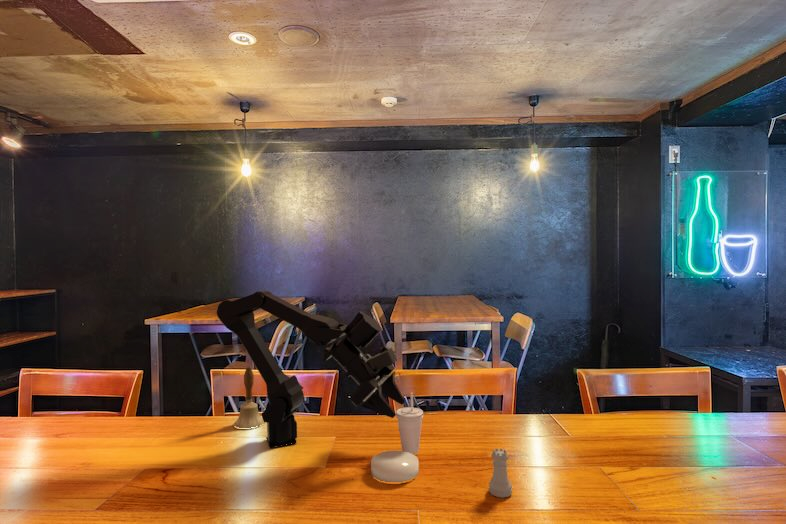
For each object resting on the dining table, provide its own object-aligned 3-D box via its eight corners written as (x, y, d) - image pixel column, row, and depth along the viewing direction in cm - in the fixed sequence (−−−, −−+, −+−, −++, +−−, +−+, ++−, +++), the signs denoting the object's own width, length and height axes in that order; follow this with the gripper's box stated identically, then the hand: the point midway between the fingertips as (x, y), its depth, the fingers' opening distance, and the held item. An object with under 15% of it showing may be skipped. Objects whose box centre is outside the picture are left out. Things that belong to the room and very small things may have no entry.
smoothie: (424, 459, 100) (423, 397, 100) (396, 459, 100) (395, 397, 100) (423, 447, 107) (422, 388, 107) (396, 447, 107) (395, 389, 107)
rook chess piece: (495, 484, 89) (494, 444, 89) (516, 491, 86) (515, 450, 86) (484, 493, 85) (483, 452, 85) (506, 501, 83) (505, 458, 82)
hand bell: (269, 419, 127) (268, 363, 127) (257, 430, 119) (256, 370, 119) (241, 418, 128) (240, 363, 128) (227, 429, 120) (226, 370, 120)
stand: (382, 489, 88) (381, 476, 88) (364, 467, 97) (364, 456, 97) (427, 478, 92) (426, 466, 92) (406, 458, 101) (406, 447, 101)
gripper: (362, 344, 96) (414, 398, 93) (385, 330, 114) (429, 375, 112) (329, 380, 98) (379, 433, 96) (357, 360, 116) (399, 405, 114)
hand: (399, 409), depth 104 cm, fingers open, 9 cm apart
